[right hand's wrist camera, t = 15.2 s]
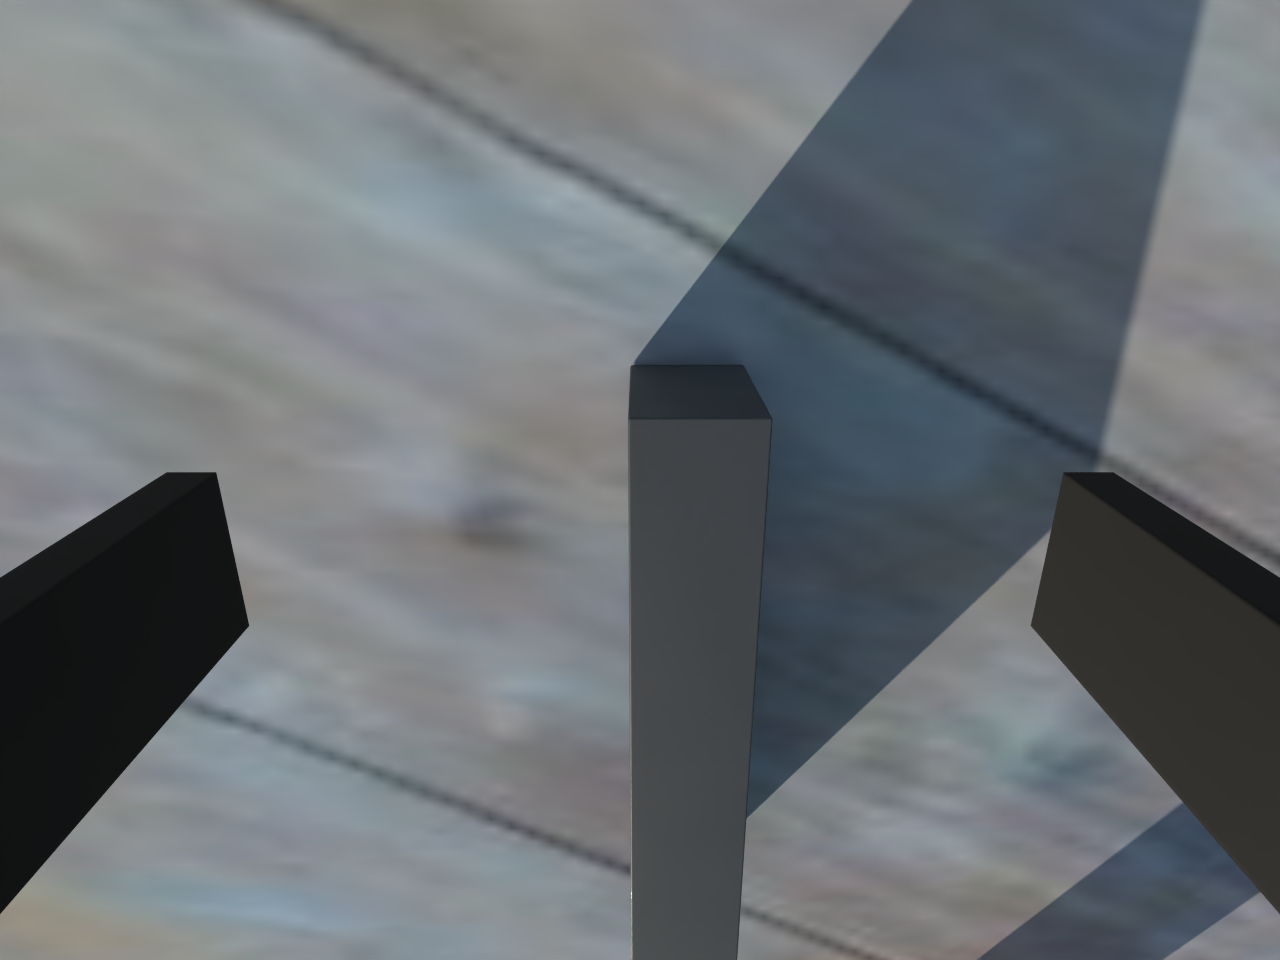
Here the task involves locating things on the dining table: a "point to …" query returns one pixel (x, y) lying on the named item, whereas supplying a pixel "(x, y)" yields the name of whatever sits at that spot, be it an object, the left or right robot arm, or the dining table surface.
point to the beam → (692, 649)
